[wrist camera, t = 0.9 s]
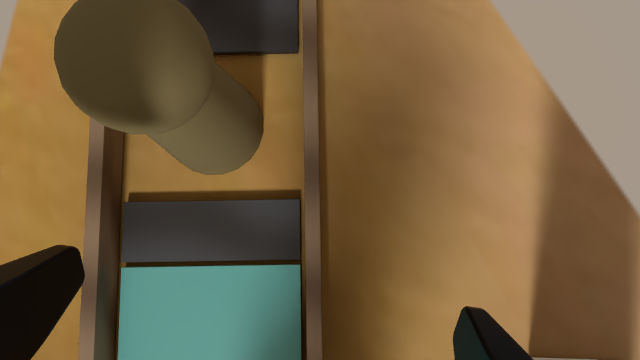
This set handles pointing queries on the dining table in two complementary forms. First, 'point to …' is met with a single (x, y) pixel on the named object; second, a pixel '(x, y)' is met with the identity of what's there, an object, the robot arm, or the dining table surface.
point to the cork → (157, 81)
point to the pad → (210, 312)
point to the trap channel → (205, 216)
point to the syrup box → (557, 359)
